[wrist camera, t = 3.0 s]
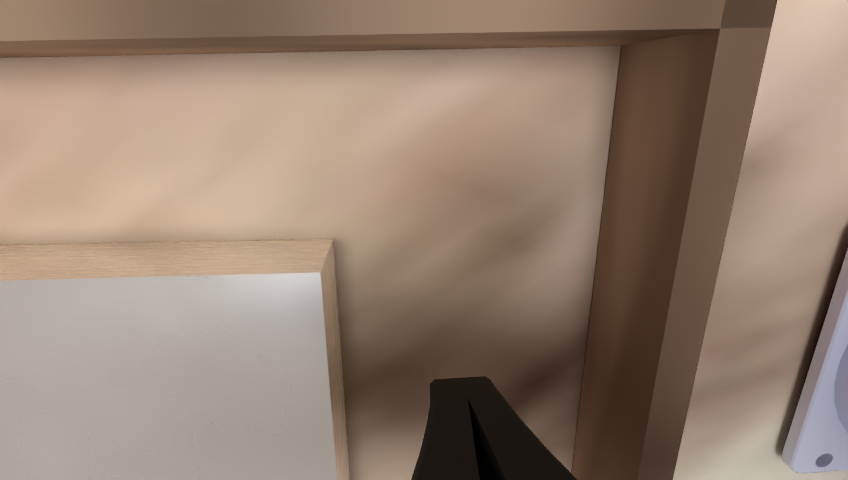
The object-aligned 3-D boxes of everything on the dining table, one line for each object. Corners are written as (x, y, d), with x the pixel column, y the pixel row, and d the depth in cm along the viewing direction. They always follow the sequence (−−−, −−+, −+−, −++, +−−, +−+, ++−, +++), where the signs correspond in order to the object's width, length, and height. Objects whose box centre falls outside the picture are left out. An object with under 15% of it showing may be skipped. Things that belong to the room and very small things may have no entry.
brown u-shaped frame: (663, 2, 9) (784, -34, 6) (581, 579, 15) (625, 693, 12) (-123, 14, 8) (-387, -23, 6) (116, 620, 14) (47, 753, 11)
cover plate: (335, 232, 11) (320, 272, 9) (351, 479, 14) (344, 562, 11) (-8, 239, 10) (-126, 284, 8) (78, 495, 13) (9, 586, 11)
